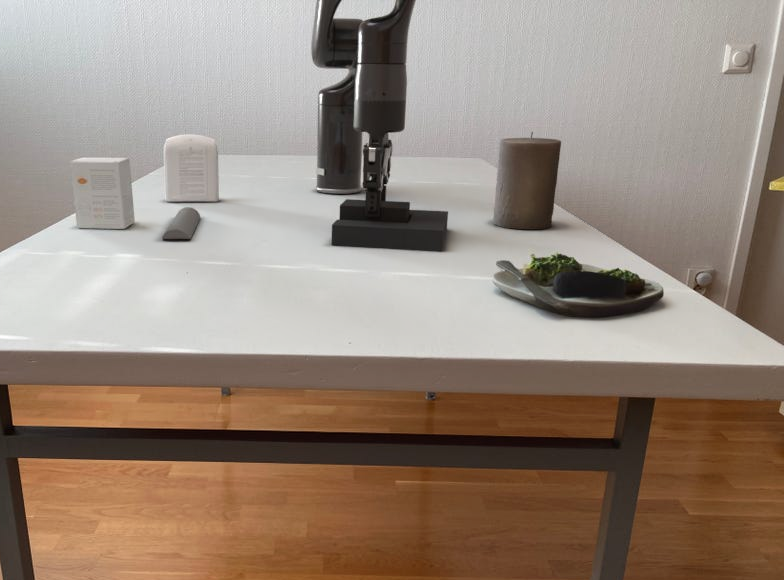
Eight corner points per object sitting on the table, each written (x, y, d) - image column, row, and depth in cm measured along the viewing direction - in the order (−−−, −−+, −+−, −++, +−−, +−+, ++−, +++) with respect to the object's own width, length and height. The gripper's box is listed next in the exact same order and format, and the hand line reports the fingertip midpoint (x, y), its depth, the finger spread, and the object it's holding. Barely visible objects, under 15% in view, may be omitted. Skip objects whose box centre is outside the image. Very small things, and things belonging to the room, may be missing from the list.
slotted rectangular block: (348, 225, 128) (349, 206, 127) (446, 229, 125) (448, 211, 124) (331, 245, 114) (331, 224, 113) (441, 251, 111) (443, 230, 110)
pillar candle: (564, 228, 128) (576, 133, 122) (514, 231, 124) (524, 134, 119) (527, 217, 136) (537, 128, 131) (480, 221, 133) (488, 129, 128)
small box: (135, 223, 128) (131, 157, 124) (124, 229, 123) (119, 161, 119) (88, 221, 129) (82, 156, 125) (75, 228, 124) (69, 160, 120)
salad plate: (446, 282, 94) (449, 245, 93) (553, 266, 103) (557, 231, 101) (569, 327, 79) (575, 283, 77) (682, 303, 87) (690, 263, 85)
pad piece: (345, 218, 123) (346, 199, 122) (408, 221, 121) (410, 202, 120) (339, 225, 118) (339, 205, 117) (405, 228, 116) (406, 208, 115)
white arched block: (219, 198, 152) (217, 133, 148) (219, 202, 148) (217, 135, 144) (165, 199, 151) (162, 133, 146) (165, 203, 147) (161, 135, 143)
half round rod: (160, 241, 115) (160, 229, 114) (176, 217, 133) (175, 207, 133) (189, 241, 115) (189, 229, 115) (200, 217, 133) (200, 207, 133)
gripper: (401, 99, 106) (394, 223, 112) (410, 95, 119) (404, 206, 125) (346, 98, 107) (343, 220, 113) (361, 95, 120) (358, 204, 126)
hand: (375, 212), depth 119 cm, fingers closed on pad piece, 6 cm apart
